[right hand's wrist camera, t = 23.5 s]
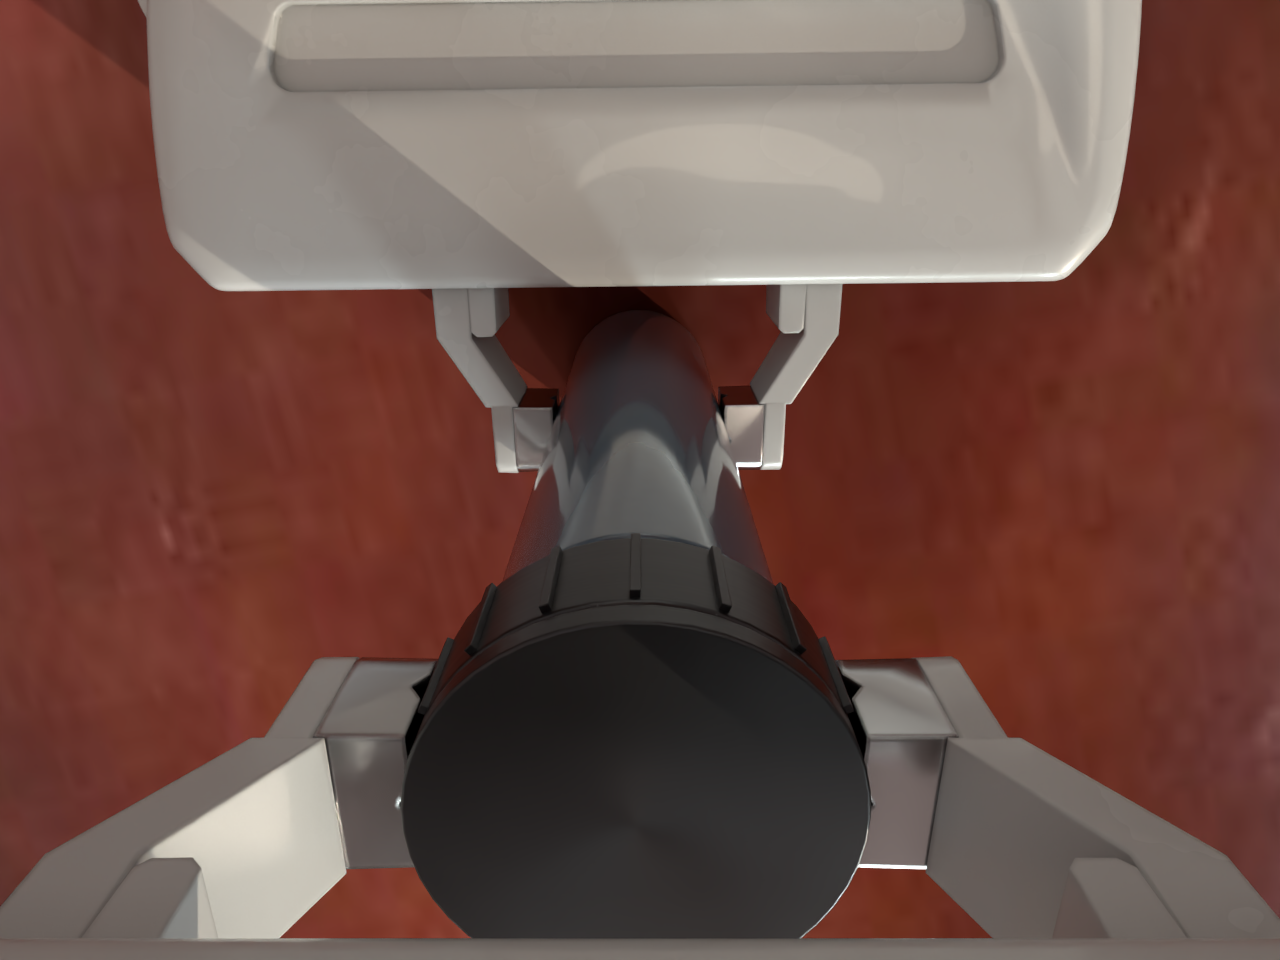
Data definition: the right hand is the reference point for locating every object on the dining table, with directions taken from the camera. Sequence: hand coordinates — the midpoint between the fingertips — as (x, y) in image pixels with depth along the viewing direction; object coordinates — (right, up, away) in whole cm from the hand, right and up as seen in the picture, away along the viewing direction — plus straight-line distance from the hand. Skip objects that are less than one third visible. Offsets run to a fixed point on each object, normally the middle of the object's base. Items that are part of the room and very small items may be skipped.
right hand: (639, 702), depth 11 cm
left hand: (0, +3, +11) cm, 11 cm away
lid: (0, -1, -2) cm, 2 cm away
